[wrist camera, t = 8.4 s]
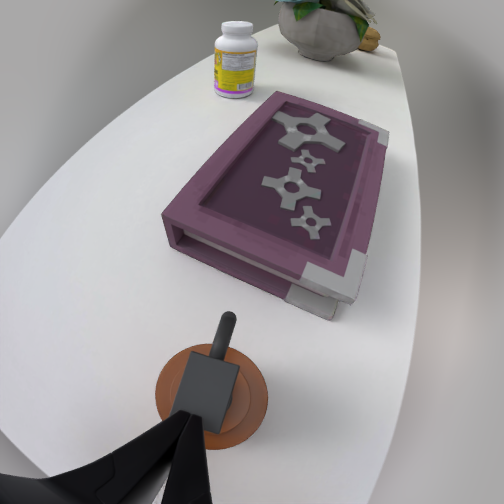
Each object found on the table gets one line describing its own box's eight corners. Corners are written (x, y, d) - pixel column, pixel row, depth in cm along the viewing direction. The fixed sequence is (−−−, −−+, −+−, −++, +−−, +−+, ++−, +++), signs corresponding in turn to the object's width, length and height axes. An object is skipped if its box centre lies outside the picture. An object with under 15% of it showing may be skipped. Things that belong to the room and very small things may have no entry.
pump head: (220, 431, 11) (219, 435, 10) (175, 417, 11) (168, 417, 10) (251, 327, 14) (254, 316, 13) (210, 315, 14) (207, 302, 13)
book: (333, 322, 23) (355, 300, 19) (169, 248, 26) (160, 214, 22) (376, 158, 36) (389, 131, 32) (272, 118, 39) (276, 89, 35)
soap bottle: (245, 448, 18) (253, 467, 11) (163, 423, 18) (133, 427, 12) (267, 373, 21) (284, 356, 15) (188, 350, 21) (171, 322, 15)
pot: (346, 48, 68) (353, 22, 60) (339, 39, 74) (345, 15, 66) (380, 57, 69) (387, 33, 60) (370, 47, 75) (376, 25, 66)
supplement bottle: (220, 81, 45) (222, 18, 34) (256, 86, 45) (263, 22, 34) (209, 97, 41) (209, 26, 30) (248, 102, 41) (255, 29, 30)
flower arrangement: (362, 85, 51) (390, -9, 30) (253, 57, 54) (263, -37, 33) (362, 58, 64) (381, -10, 43) (280, 37, 66) (289, -32, 46)
